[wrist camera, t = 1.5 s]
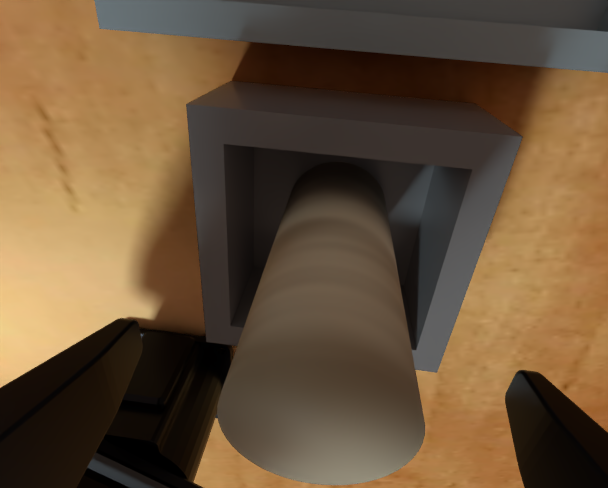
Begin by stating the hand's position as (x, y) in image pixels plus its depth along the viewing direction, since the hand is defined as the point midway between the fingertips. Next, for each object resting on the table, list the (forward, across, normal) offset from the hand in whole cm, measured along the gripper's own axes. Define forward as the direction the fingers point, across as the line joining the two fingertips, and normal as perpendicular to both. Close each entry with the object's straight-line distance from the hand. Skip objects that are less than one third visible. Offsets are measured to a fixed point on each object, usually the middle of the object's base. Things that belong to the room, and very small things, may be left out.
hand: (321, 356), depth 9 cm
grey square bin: (+9, 0, 0) cm, 9 cm away
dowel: (+8, 0, 0) cm, 8 cm away
